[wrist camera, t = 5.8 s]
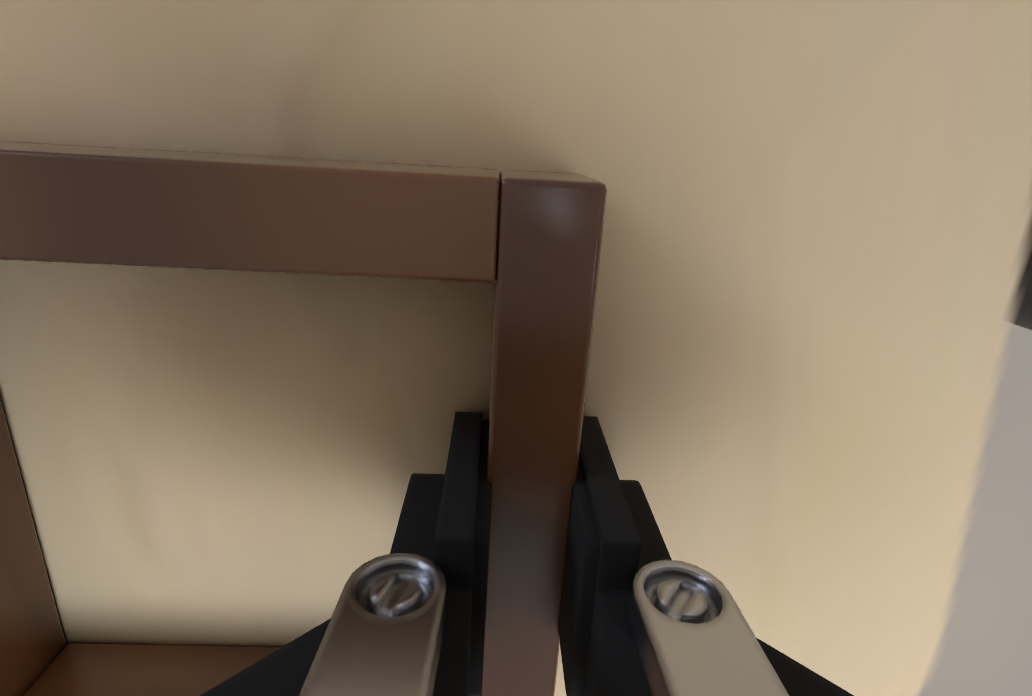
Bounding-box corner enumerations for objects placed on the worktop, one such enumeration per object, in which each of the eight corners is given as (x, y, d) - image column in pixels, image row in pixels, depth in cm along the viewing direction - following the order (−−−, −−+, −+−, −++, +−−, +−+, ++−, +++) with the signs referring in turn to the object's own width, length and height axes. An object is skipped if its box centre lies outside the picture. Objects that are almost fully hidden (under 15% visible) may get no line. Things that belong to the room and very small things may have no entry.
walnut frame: (582, 173, 10) (608, 182, 7) (535, 695, 14) (543, 809, 11) (-157, 132, 9) (-382, 128, 7) (17, 687, 13) (-87, 804, 11)
